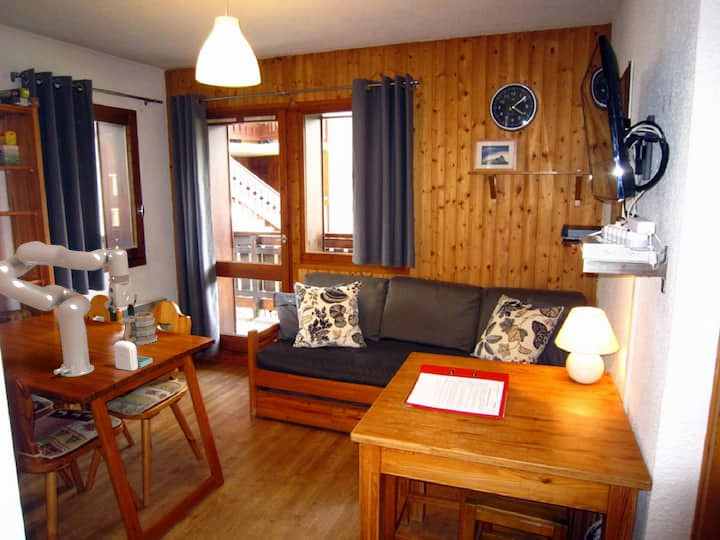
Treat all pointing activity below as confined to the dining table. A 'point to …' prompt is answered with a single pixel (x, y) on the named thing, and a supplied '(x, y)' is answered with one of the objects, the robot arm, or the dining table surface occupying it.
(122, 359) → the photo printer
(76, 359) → the robot arm
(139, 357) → the slot frame
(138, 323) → the tankard
